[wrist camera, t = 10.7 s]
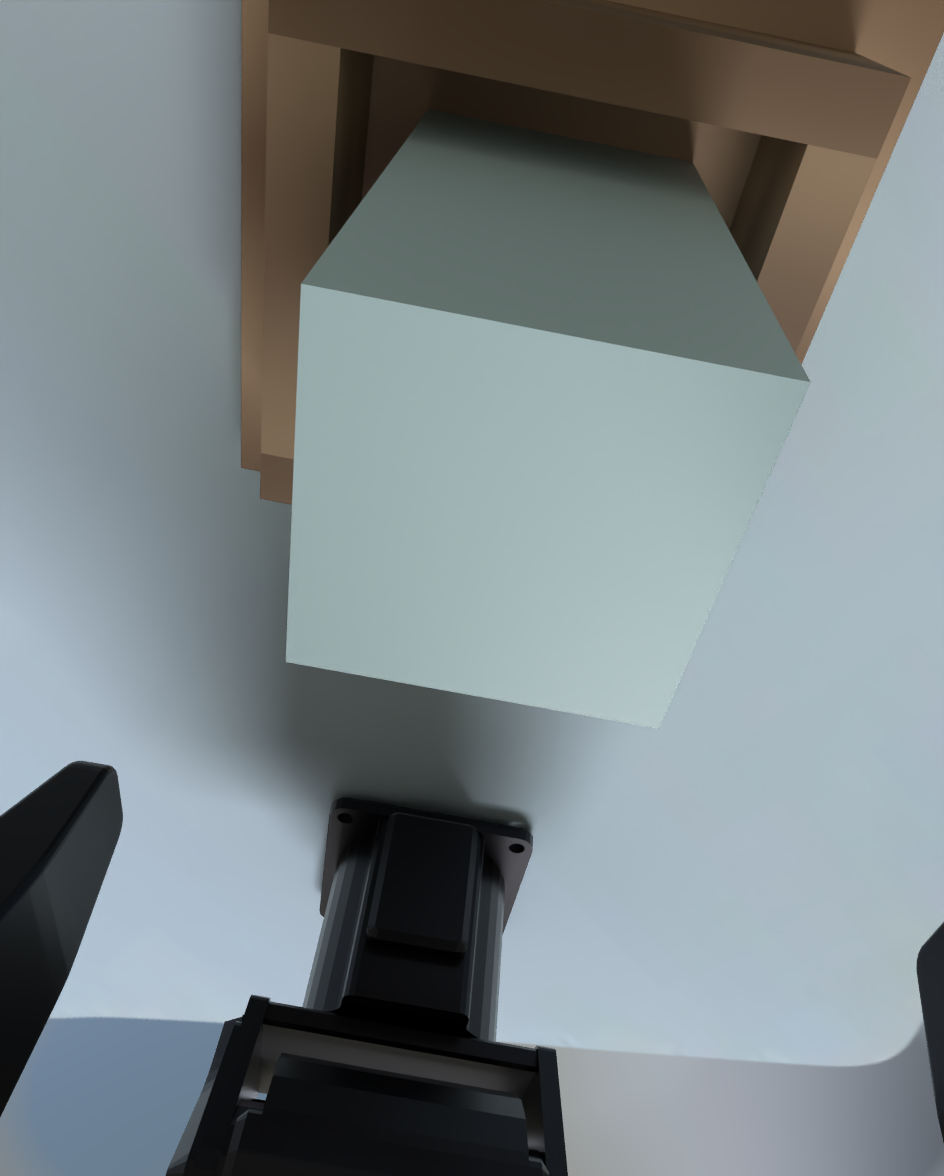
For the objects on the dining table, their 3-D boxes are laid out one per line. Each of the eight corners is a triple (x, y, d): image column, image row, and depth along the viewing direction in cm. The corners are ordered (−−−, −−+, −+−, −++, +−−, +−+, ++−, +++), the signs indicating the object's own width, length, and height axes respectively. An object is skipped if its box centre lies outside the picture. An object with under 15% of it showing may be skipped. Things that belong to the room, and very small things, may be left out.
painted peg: (621, 404, 18) (658, 728, 11) (399, 362, 17) (285, 661, 10) (692, 162, 15) (809, 382, 8) (429, 108, 15) (300, 283, 8)
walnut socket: (714, 538, 20) (737, 637, 18) (251, 450, 20) (199, 538, 17) (948, -26, 14) (1050, -13, 11) (257, -175, 13) (172, -201, 10)
